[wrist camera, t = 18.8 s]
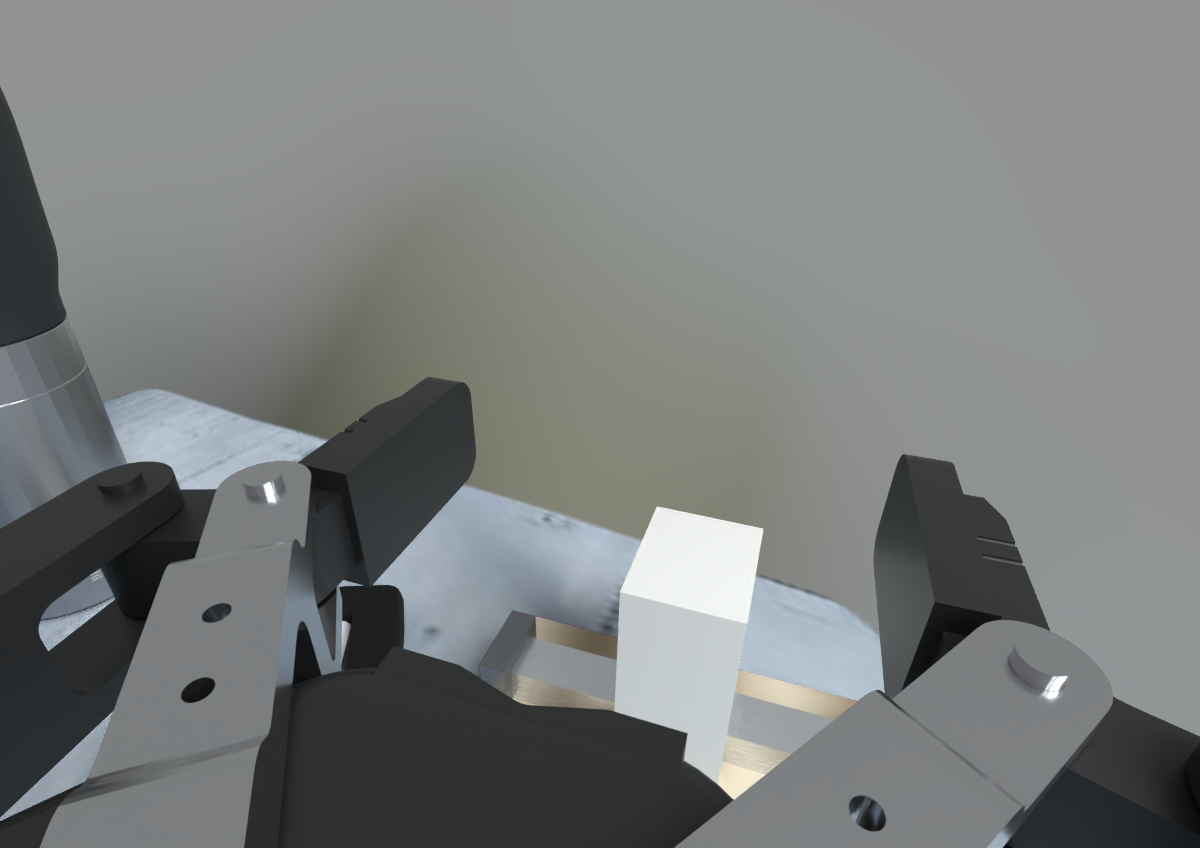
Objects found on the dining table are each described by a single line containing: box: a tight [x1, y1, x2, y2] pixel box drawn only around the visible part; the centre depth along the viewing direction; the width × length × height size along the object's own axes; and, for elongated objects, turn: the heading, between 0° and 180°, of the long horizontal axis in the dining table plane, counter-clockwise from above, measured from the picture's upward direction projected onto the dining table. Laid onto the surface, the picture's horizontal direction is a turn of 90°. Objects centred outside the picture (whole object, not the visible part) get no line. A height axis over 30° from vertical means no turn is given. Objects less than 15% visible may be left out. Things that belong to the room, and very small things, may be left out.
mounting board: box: [513, 617, 857, 800], centre depth 32 cm, size 20×9×1 cm, turn 72°
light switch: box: [339, 585, 404, 671], centre depth 32 cm, size 20×3×14 cm
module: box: [614, 507, 763, 784], centre depth 30 cm, size 5×7×11 cm
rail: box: [479, 610, 834, 775], centre depth 31 cm, size 20×4×3 cm, turn 72°
